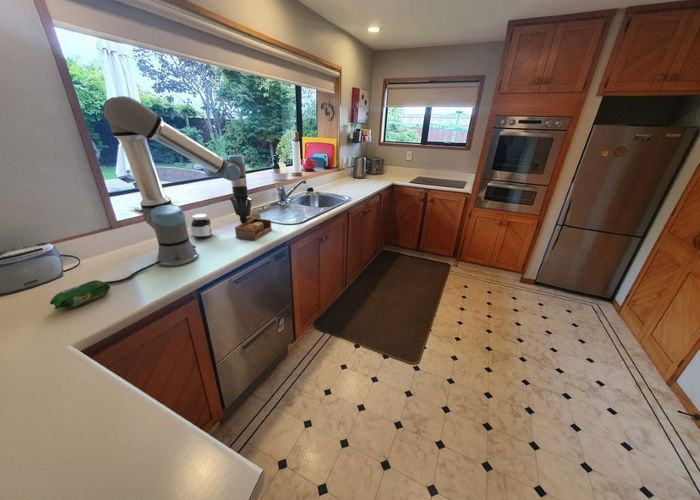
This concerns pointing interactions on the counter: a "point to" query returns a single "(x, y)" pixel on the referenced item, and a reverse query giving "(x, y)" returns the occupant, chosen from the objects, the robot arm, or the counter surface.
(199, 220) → the spread jar
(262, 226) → the wooden box
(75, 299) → the snack package
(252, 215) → the sponge
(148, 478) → the counter surface
